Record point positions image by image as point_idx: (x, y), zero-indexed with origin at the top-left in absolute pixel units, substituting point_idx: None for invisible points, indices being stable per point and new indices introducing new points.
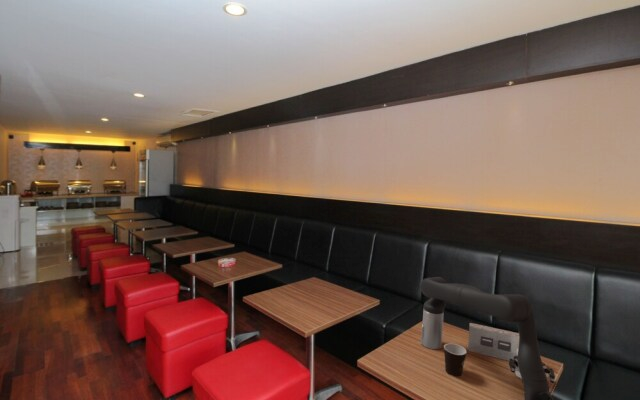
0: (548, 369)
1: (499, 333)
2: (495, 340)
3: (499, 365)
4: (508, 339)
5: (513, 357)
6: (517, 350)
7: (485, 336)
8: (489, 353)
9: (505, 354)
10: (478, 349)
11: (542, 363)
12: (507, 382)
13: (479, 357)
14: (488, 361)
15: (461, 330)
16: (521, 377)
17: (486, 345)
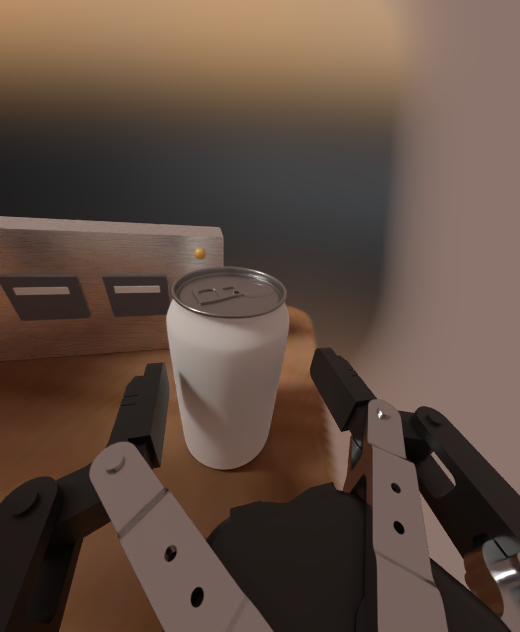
0: (405, 422)
1: (96, 236)
2: (90, 281)
3: (116, 400)
4: (150, 260)
5: None
6: (166, 317)
7: (26, 271)
8: (88, 345)
9: (155, 329)
10: (29, 343)
11: (341, 369)
12: (90, 625)
13: (20, 387)
14: (62, 396)
15: None
16: (210, 464)
17: (54, 316)
